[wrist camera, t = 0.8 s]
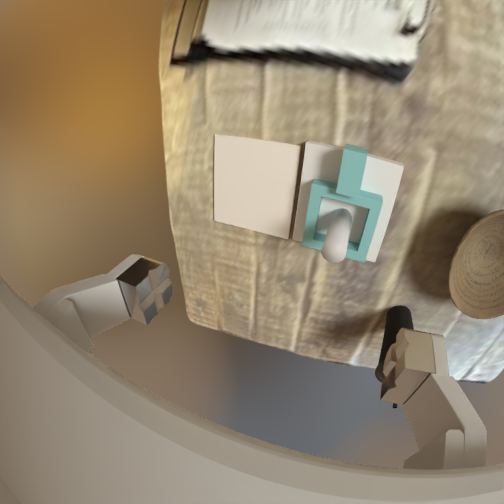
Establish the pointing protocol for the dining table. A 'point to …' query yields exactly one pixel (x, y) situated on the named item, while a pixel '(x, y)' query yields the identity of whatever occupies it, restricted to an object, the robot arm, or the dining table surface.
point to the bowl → (480, 269)
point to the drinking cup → (393, 335)
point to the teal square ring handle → (347, 193)
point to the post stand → (341, 213)
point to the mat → (255, 183)
